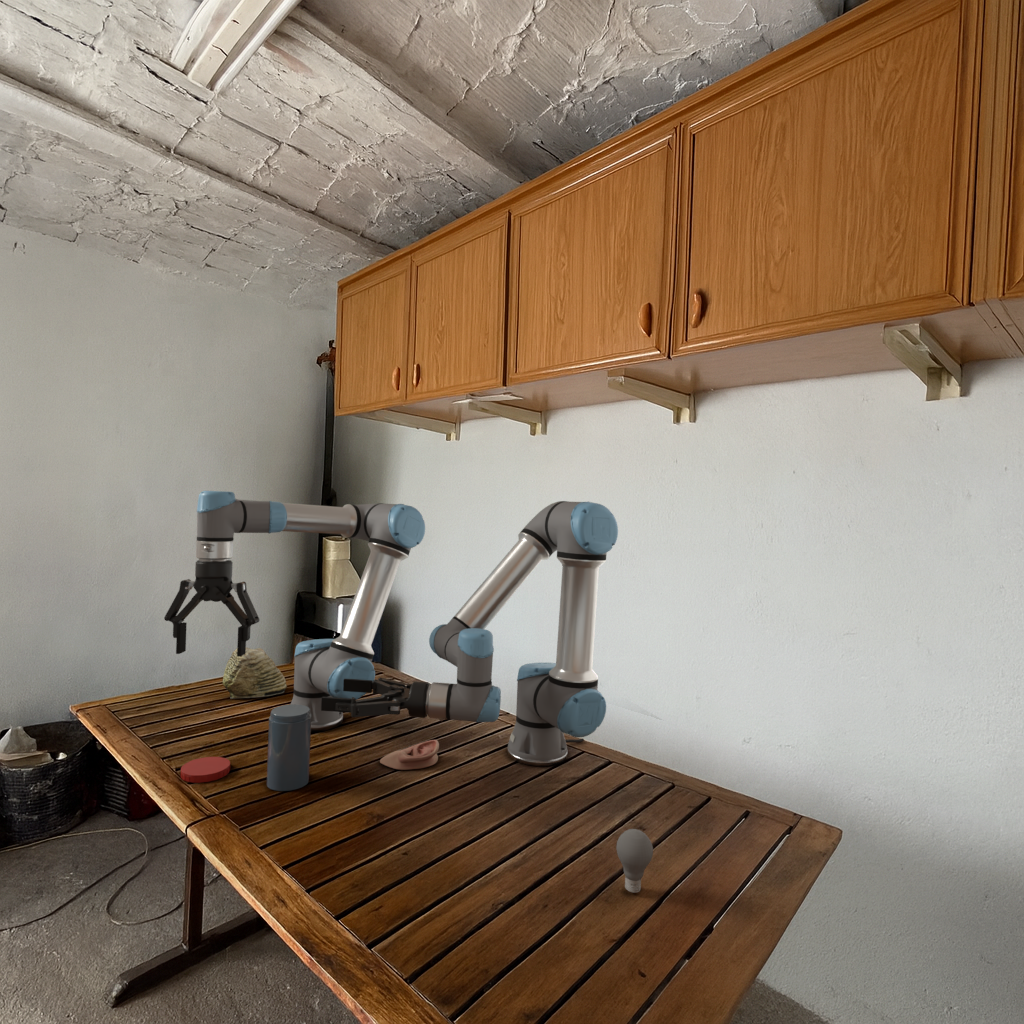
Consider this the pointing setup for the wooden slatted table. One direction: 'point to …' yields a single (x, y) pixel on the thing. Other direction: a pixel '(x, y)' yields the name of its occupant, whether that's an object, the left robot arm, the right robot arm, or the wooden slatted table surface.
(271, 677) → the fossil
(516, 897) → the wooden slatted table surface
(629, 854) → the light bulb
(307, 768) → the jar
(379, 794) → the wooden slatted table surface
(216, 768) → the lid
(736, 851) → the wooden slatted table surface
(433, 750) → the anatomical model
